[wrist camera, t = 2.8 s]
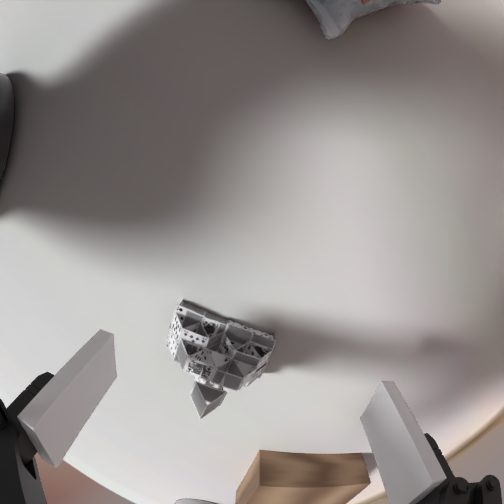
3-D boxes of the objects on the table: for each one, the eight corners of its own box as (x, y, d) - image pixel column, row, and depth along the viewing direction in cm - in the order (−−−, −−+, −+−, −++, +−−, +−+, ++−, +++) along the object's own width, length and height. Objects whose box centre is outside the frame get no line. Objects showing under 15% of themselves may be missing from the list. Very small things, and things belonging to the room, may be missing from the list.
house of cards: (138, 370, 21) (103, 432, 13) (161, 285, 18) (111, 341, 11) (236, 407, 21) (229, 478, 14) (279, 331, 19) (289, 407, 12)
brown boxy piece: (236, 489, 26) (234, 518, 21) (259, 447, 23) (259, 485, 18) (320, 492, 26) (324, 519, 21) (360, 450, 23) (370, 482, 18)
